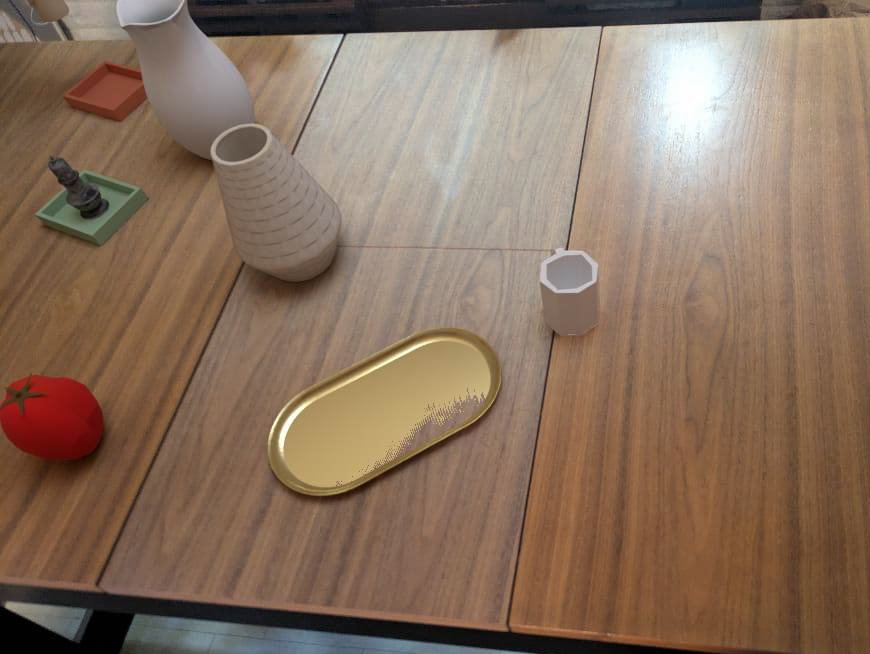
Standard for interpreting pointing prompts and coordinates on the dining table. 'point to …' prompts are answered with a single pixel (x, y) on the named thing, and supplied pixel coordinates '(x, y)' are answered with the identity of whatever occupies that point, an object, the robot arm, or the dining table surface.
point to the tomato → (51, 417)
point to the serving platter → (379, 409)
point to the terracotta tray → (108, 91)
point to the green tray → (100, 229)
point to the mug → (570, 292)
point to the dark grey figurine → (79, 190)
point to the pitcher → (185, 74)
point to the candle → (50, 9)
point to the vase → (274, 205)
